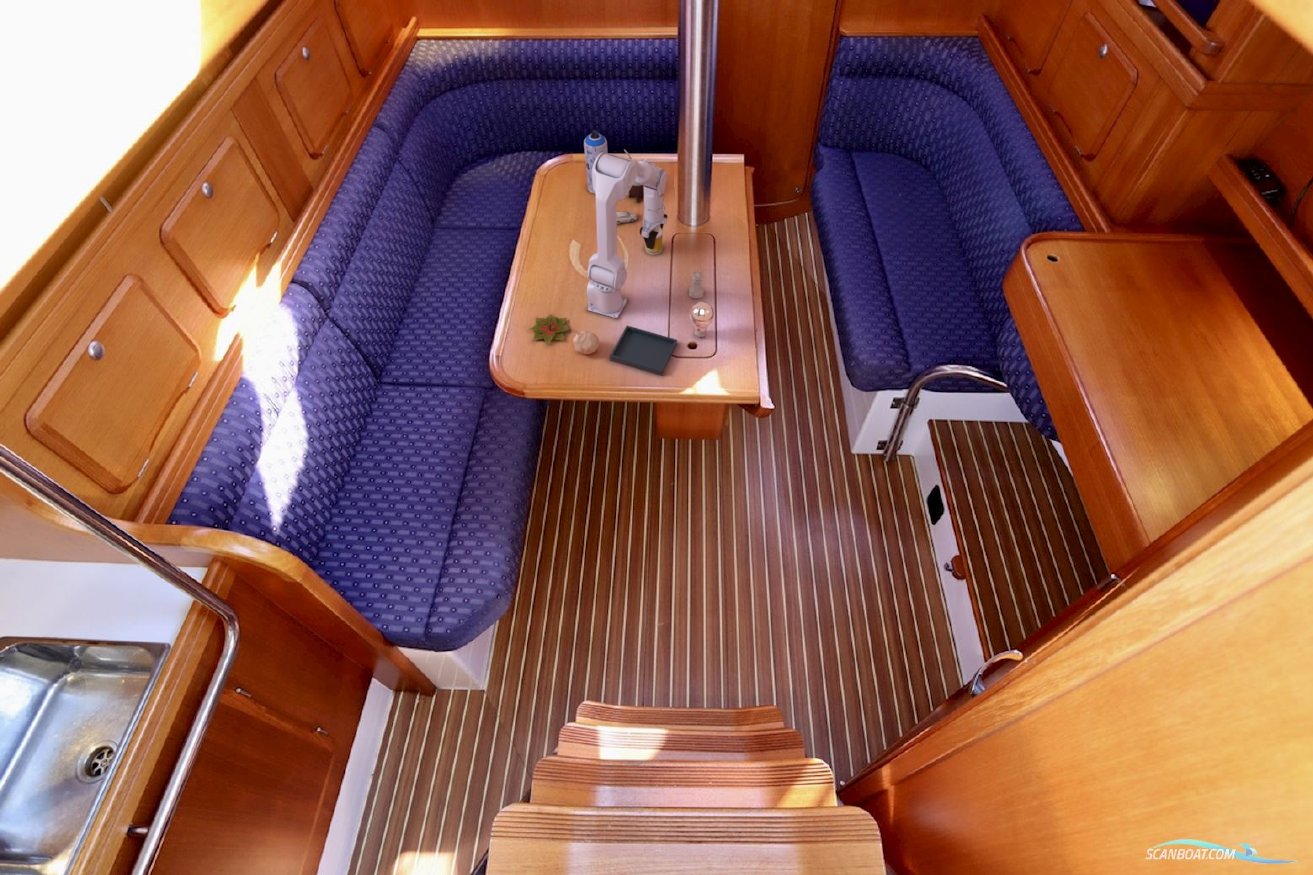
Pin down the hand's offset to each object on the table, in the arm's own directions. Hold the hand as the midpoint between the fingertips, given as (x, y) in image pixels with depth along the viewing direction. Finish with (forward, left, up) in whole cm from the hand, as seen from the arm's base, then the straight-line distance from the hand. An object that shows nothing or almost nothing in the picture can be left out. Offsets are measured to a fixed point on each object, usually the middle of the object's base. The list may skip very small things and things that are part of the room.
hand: (653, 242), depth 202 cm
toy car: (-14, +10, -3) cm, 18 cm away
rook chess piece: (+19, -14, -3) cm, 24 cm away
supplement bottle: (0, 0, -3) cm, 3 cm away
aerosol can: (-29, +23, -3) cm, 37 cm away
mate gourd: (-15, +23, -3) cm, 28 cm away
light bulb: (+25, -29, -3) cm, 39 cm away
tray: (+13, -41, -3) cm, 43 cm away
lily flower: (-15, -43, -3) cm, 46 cm away
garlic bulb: (-2, -46, -3) cm, 46 cm away
